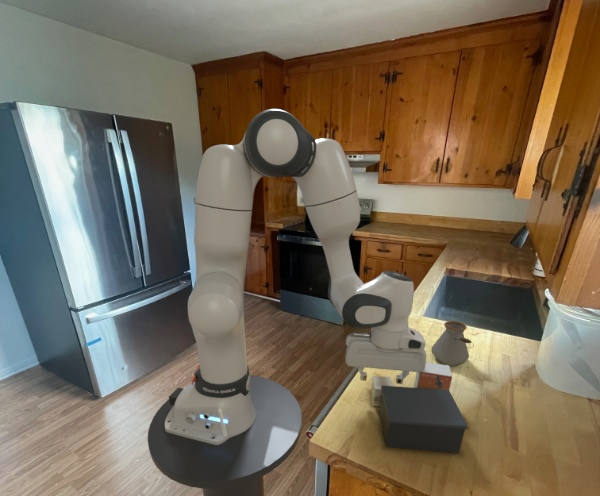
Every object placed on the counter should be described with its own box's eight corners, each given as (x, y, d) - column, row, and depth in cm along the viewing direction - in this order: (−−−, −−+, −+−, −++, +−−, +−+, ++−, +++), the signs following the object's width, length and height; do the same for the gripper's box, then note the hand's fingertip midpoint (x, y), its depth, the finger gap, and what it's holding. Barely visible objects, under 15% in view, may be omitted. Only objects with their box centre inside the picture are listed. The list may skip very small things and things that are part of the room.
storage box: (384, 448, 74) (389, 420, 71) (378, 410, 86) (381, 385, 83) (460, 454, 73) (468, 426, 70) (443, 415, 85) (449, 390, 82)
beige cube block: (372, 405, 88) (374, 388, 86) (370, 392, 93) (372, 375, 91) (391, 407, 87) (394, 390, 85) (388, 393, 93) (390, 376, 91)
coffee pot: (427, 349, 116) (434, 310, 111) (462, 353, 114) (471, 313, 109) (439, 384, 97) (448, 339, 91) (480, 389, 95) (493, 344, 89)
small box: (413, 404, 89) (419, 371, 85) (412, 392, 94) (418, 360, 90) (445, 410, 87) (452, 376, 83) (442, 397, 92) (449, 364, 88)
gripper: (347, 337, 81) (342, 384, 86) (432, 344, 79) (422, 391, 84) (346, 326, 86) (341, 371, 92) (425, 332, 85) (416, 377, 90)
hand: (380, 381), depth 88 cm, fingers open, 8 cm apart
